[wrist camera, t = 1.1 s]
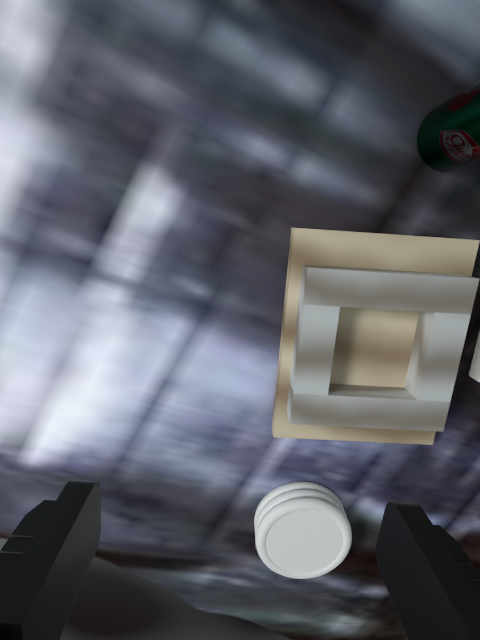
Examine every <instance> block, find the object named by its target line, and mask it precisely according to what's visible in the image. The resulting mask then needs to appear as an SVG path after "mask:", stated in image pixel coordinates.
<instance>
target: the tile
mask: <svg viewBox="0 0 480 640" xmlns="http://www.w3.org/2000/svg"><path fill="white" fill-rule="evenodd" d="M469 376H470V377H472V378H473V379H475V380H476V381H478V382H480V331H479V335H478V339H477V343H476V347H475V351H474V355H473V359H472V363H471V367H470V372H469Z"/></svg>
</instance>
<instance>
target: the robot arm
mask: <svg viewBox="0 0 480 640" xmlns="http://www.w3.org/2000/svg"><path fill="white" fill-rule="evenodd" d="M100 530H101V506H100V484H99V482H91V481H75V480H70V481H69V482H68V483H67V484H66V486H65V487H64V489H63V490H62V492H61V494H60V495H59V497H58V498H57V500H56V501H51V500H44V501H43V502H41V503H40V504H39V505H38V506H36V507H35V508H34V509H32V510H31V511H30V512H29V513H27V514H26V515H25V516H24V518H23V519H22V521H21V522H20V523H19V525H18V526H17V528H16V529H15V530H14V532H13V533H12V536H11V538H9V539H8V540H7V542H6V544H5V545H4V546H3V548H2V549H1V552H0V640H60V637H61V635H62V633H63V630H64V628H65V625H66V623H67V621H68V618H69V616H70V613H71V611H72V608H73V606H74V604H75V601H76V599H77V596H78V593H79V591H80V589H81V586H82V584H83V582H84V579H85V577H86V574H87V572H88V570H89V567H90V565H91V562H92V560H93V557H94V555H95V552H96V549H97V546H98V542H99V537H100ZM376 557H377V563H378V567H379V570H380V573H381V575H382V577H383V580H384V582H385V585H386V587H387V589H388V592H389V594H390V597H391V599H392V601H393V604H394V606H395V608H396V611H397V613H398V616H399V618H400V620H401V623H402V625H403V627H404V630H405V632H406V635H407V637H408V639H409V640H480V573H479V571H478V570H477V569H476V567H475V566H473V565H472V561H471V560H470V559H469V557H468V556H467V554H466V553H465V551H464V550H463V549H462V547H461V546H460V544H459V543H458V542H457V541H456V540H455V539H454V538H453V537H452V536H450V535H449V534H448V533H447V532H446V531H445V530H444V529H443V528H442V527H440V526H439V525H433V524H432V523H431V521H430V520H429V518H428V517H427V515H426V514H425V512H424V511H423V509H422V508H421V507H420V506H419V505H418V504H416V503H404V502H388V503H387V505H386V507H385V511H384V515H383V520H382V524H381V528H380V532H379V536H378V540H377V545H376Z"/></svg>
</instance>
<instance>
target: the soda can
mask: <svg viewBox="0 0 480 640" xmlns="http://www.w3.org/2000/svg"><path fill="white" fill-rule="evenodd" d="M417 147H418V151H419V154H420V156H421V158H422V159H423V161H424V162H425V163H426V164H427V165H429V166H430V167H432V168H434V169H438V170H449V169H454V168H457V167H461V166H465V165H469V164H473V163H477V162H480V82H479V83H477V84H476V85H474V86H472V87H470V88H469V89H467V90H465V91H464V92H462V93H460V94H458V95H457V96H455V97H453V98H451V99H450V100H448V101H446V102H444V103H443V104H441V105H439V106H438V107H436V108H434V109H433V110H432V111H430V112H429V114H428V115H427V116H426V117H425V118H424V120H423V121H422V123H421V125H420V128H419V131H418V135H417Z"/></svg>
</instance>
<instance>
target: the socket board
mask: <svg viewBox="0 0 480 640" xmlns="http://www.w3.org/2000/svg"><path fill="white" fill-rule="evenodd" d="M479 242H480V240H468V239H453V238H438V237H423V236H408V235H393V234H378V233H363V232H348V231H333V230H318V229H303V228H292V229H291V239H290V249H289V259H288V270H287V280H286V290H285V300H284V310H283V321H282V331H281V341H280V351H279V361H278V371H277V382H276V392H275V402H274V412H273V422H272V432H273V437H280V438H301V439H322V440H343V441H364V442H385V443H406V444H427V445H433V442H434V437H435V433H436V431H440V432H443V431H444V427H445V422H446V418H447V414H448V410H449V405H450V401H451V397H452V393H453V389H454V384H455V380H456V376H457V372H458V367H459V363H460V359H461V355H462V350H463V346H464V342H465V338H466V333H467V329H468V325H469V321H470V316H471V312H472V308H473V304H474V300H475V295H476V291H477V287H478V283H479V278H474V277H471V276H472V272H473V268H474V263H475V259H476V255H477V250H478V246H479Z"/></svg>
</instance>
